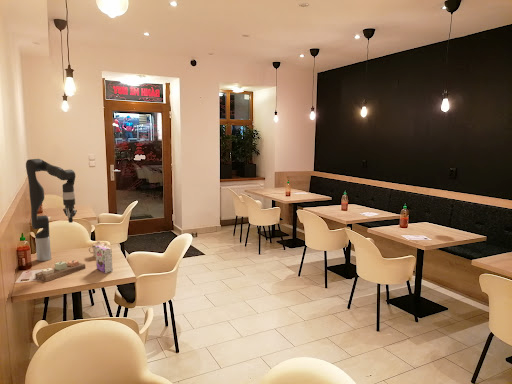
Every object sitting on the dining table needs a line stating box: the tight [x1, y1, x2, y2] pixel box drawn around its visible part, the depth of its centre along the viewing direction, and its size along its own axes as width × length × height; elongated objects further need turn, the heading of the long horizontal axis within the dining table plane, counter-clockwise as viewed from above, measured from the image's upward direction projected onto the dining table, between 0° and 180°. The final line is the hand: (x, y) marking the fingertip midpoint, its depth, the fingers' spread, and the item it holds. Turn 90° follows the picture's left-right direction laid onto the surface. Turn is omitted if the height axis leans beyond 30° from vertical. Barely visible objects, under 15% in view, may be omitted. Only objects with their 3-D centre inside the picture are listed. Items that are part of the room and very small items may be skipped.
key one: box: [41, 267, 54, 275], centre depth 250 cm, size 5×5×4 cm
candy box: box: [95, 244, 114, 274], centre depth 262 cm, size 14×6×16 cm, turn 45°
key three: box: [66, 259, 80, 267], centre depth 266 cm, size 5×5×4 cm
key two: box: [54, 261, 67, 271], centre depth 258 cm, size 5×5×4 cm
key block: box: [34, 262, 86, 282], centre depth 258 cm, size 12×28×3 cm, turn 150°
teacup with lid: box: [88, 240, 106, 258], centre depth 295 cm, size 12×9×12 cm
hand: (70, 222), depth 271 cm, fingers closed
